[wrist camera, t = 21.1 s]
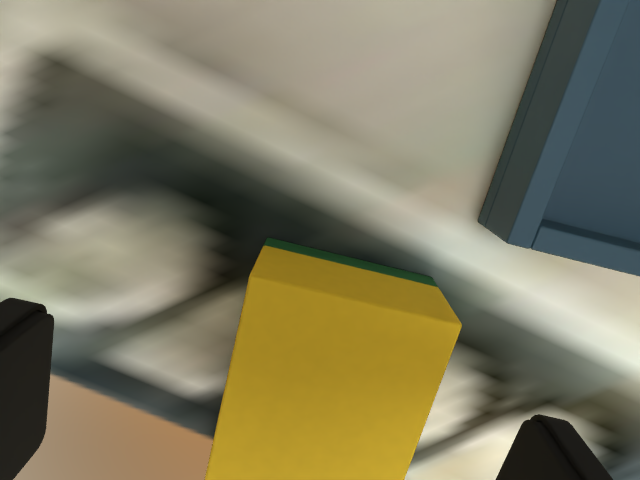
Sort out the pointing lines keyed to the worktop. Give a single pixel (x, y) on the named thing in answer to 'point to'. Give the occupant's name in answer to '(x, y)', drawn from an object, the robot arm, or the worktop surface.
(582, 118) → the tray
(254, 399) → the sponge
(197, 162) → the worktop surface
